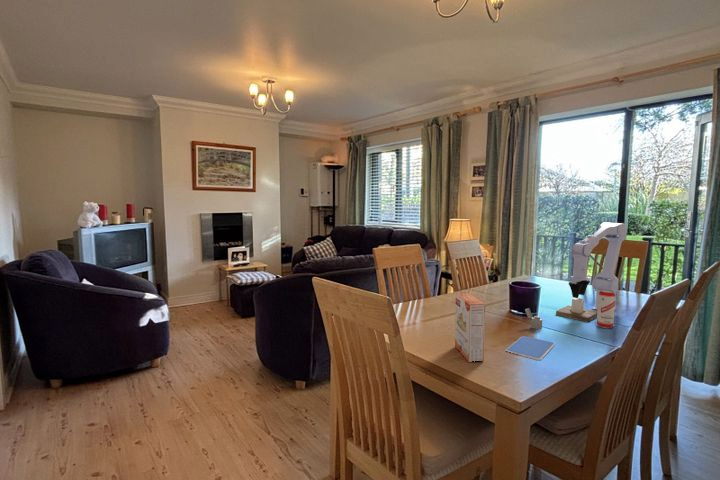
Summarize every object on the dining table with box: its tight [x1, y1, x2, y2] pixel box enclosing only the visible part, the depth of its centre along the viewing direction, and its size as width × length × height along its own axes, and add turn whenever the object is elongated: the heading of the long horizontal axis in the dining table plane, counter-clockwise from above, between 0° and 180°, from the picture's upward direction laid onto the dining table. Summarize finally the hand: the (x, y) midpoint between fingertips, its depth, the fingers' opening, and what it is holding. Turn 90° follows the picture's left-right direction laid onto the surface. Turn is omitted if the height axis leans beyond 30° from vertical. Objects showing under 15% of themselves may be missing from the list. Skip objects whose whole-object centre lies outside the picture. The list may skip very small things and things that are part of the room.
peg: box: [571, 297, 585, 314], centre depth 180 cm, size 4×4×8 cm
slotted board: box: [555, 305, 597, 323], centre depth 181 cm, size 14×14×2 cm
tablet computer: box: [505, 335, 556, 361], centre depth 142 cm, size 19×13×1 cm, turn 139°
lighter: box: [524, 307, 543, 331], centre depth 164 cm, size 7×2×8 cm, turn 42°
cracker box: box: [454, 293, 486, 363], centre depth 135 cm, size 14×6×21 cm, turn 5°
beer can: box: [596, 290, 616, 329], centre depth 164 cm, size 6×6×16 cm
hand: (578, 296), depth 180 cm, fingers open, 7 cm apart
